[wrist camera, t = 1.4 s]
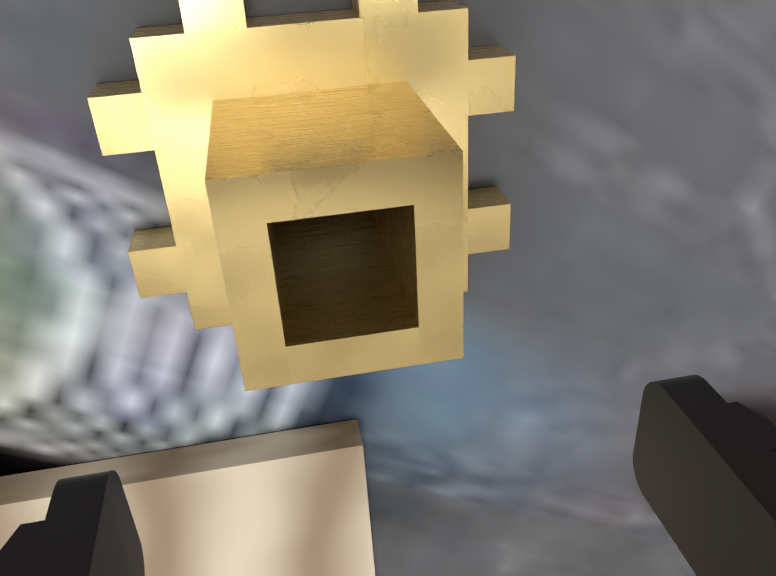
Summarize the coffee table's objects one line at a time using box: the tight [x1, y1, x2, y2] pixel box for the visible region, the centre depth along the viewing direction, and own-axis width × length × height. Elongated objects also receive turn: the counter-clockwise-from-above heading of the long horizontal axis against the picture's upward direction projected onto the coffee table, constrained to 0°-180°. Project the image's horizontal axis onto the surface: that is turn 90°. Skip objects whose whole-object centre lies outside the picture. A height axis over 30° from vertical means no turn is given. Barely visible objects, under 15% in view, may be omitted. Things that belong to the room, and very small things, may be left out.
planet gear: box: [88, 0, 516, 391], centre depth 20 cm, size 12×12×8 cm
